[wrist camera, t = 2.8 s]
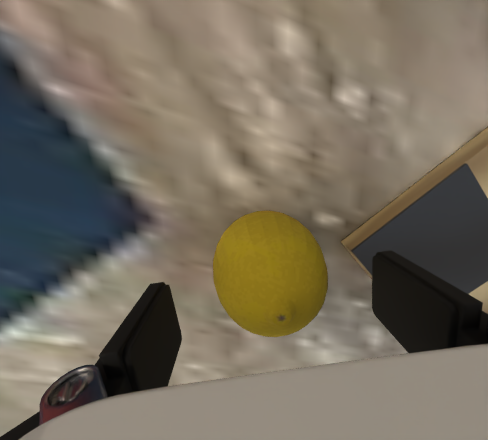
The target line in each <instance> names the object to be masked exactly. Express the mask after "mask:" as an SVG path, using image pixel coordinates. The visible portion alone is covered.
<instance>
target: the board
mask: <svg viewBox="0 0 488 440" xmlns="http://www.w3.org/2000/svg"><path fill="white" fill-rule="evenodd" d="M341 243H342V244H343V245H344V247H345V248H346V249H347V250H348V251H349V253H350V254H351V255H352V256H353V257H354V259H355V260H356V261H357V262H358V263H359V265H360V266H361V267H362V268H363V269H364V271H365V272H366V273H367V274H368V275H369V277H370V278H371V279H372V258H373V256H375V255H376V253H377V252H382V251H389V250H392V251H394V252H396V253H397V254H399V255H401V256H403V257H404V258H406V259H408V260H409V261H411V262H413V263H415V264H416V265H418V266H420V267H422V268H423V269H425V270H427V271H429V272H430V273H432V274H434V275H436V276H437V277H439V278H441V279H443V280H444V281H446V282H448V283H450V284H451V285H453V286H455V287H457V288H458V289H460V290H462V291H464V292H465V293H467V294H469V295H471V296H472V297H474V298H476V299H478V300H479V301H481V302H483V306H482V311H484V312H485V313H487V314H488V127H487V128H486V129H485V130H483V131H482V132H481V133H480V134H478V135H477V136H476V137H475V138H473V139H472V140H471V141H469V142H468V143H467V144H466V145H464V146H463V147H462V148H460V149H459V150H458V151H457V152H455V153H454V154H453V155H451V156H450V157H449V158H448V159H446V160H445V161H444V162H442V163H441V164H440V165H439V166H437V167H436V168H435V169H433V170H432V171H431V172H430V173H428V174H427V175H426V176H424V177H423V178H422V179H421V180H419V181H418V182H417V183H416V184H414V185H413V186H412V187H410V188H409V189H408V190H407V191H405V192H404V193H403V194H401V195H400V196H399V197H398V198H396V199H395V200H394V201H392V202H391V203H390V204H389V205H387V206H386V207H385V208H383V209H382V210H381V211H380V212H378V213H377V214H376V215H374V216H373V217H372V218H371V219H369V220H368V221H367V222H365V223H364V224H363V225H362V226H360V227H359V228H358V229H357V230H355V231H354V232H353V233H351V234H350V235H349V236H348V237H346V238H345V239H344V240H342V241H341Z"/></svg>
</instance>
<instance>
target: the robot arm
mask: <svg viewBox="0 0 488 440" xmlns="http://www.w3.org/2000/svg"><path fill="white" fill-rule="evenodd" d="M482 306H483V302H481V301H479V300H478V299H476V298H474V297H472V296H471V295H469V294H467V293H465V292H464V291H462V290H460V289H458V288H457V287H455V286H453V285H451V284H450V283H448V282H446V281H444V280H443V279H441V278H439V277H437V276H436V275H434V274H432V273H430V272H429V271H427V270H425V269H423V268H422V267H420V266H418V265H416V264H415V263H413V262H411V261H409V260H408V259H406V258H404V257H403V256H401V255H399V254H397V253H396V252H394V251H392V250H389V251H382V252H377V253H376V255H375V256H373V258H372V309H373V312H374V314H375V316H376V317H377V318H378V319H379V320H380V321H381V323H382V324H383V325H384V326H385V327H386V328H387V329H388V330H389V332H390V333H391V334H392V335H393V336H394V337H395V338H396V339H397V340H398V342H399V343H400V344H401V345H402V346H403V347H404V348H405V349H406V351H407V352H408V354H400V355H392V356H385V357H377V358H370V359H363V360H355V361H348V362H340V363H333V364H325V365H318V366H311V367H303V368H296V369H289V370H282V371H274V372H267V373H260V374H252V375H245V376H238V377H231V378H224V379H217V380H209V381H202V382H195V383H188V384H181V385H174V386H168V383H169V380H170V377H171V373H172V370H173V367H174V364H175V361H176V357H177V354H178V351H179V348H180V345H181V340H182V335H181V330H180V326H179V322H178V318H177V314H176V310H175V306H174V302H173V298H172V294H171V290H170V286H169V285H166V284H165V283H164V282H160V283H153V284H150V285H149V286H148V288H147V289H146V291H145V292H144V293H143V295H142V296H141V298H140V299H139V300H138V302H137V303H136V305H135V306H134V307H133V309H132V310H131V312H130V313H129V314H128V316H127V317H126V318H125V320H124V321H123V323H122V324H121V325H120V327H119V328H118V330H117V331H116V332H115V334H114V335H113V337H112V338H111V339H110V341H109V342H108V344H107V345H106V346H105V348H104V349H103V351H102V352H101V353H100V355H99V357H100V358H99V360H98V361H97V363H96V364H95V365H84V366H81V367H78V368H76V369H74V370H71V371H69V372H68V373H66V374H65V375H63V376H62V377H60V378H59V379H58V380H57V381H55V382H54V383H53V384H52V385H51V386H50V387H49V388H48V389H47V391H46V392H45V393H44V395H43V397H42V398H41V402H40V411H39V412H38V413H36V414H35V415H33V416H32V417H30V418H29V419H27V420H26V421H24V422H23V423H21V424H20V425H18V426H17V427H15V428H13V429H12V430H10V431H9V432H7V433H6V434H4V435H3V436H1V437H0V440H488V314H487V313H485V312H484V311H482Z"/></svg>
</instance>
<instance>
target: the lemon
mask: <svg viewBox="0 0 488 440" xmlns="http://www.w3.org/2000/svg"><path fill="white" fill-rule="evenodd" d="M213 277H214V284H215V288H216V291H217V294H218V297H219V300H220V302H221V304H222V306H223V307H224V309H225V310H226V312H227V313H228V315H229V316H230V318H231V319H233V320H234V321H235V322H236V323H237V324H238V325H239V326H241V327H242V328H244V329H246V330H248V331H250V332H251V333H254V334H258V335H262V336H267V337H279V336H285V335H289V334H292V333H294V332H297V331H299V330H300V329H302V328H303V327H305V326H306V325H308V324H309V323H310V322H311V321H312V320H313V318H314V317H315V316H316V315H317V314H318V312H319V311H320V309H321V307H322V305H323V303H324V300H325V296H326V293H327V287H328V275H327V267H326V263H325V260H324V257H323V253H322V251H321V248H320V246H319V244H318V243H317V241H316V240H315V238H314V237H313V235H312V234H311V232H310V231H309V230H308V229H307V228H306V227H304V226H303V225H302V224H301V223H300V222H299V221H297V220H296V219H294V218H292V217H290V216H288V215H286V214H284V213H279V212H274V211H257V212H253V213H250V214H247V215H244V216H243V217H241V218H239V219H238V220H236V221H234V222H233V223H232V224H231V225H230V226H229V228H228V229H227V230H226V231H225V232H224V234H223V235H222V237H221V239H220V241H219V242H218V244H217V248H216V252H215V255H214V259H213Z"/></svg>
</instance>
